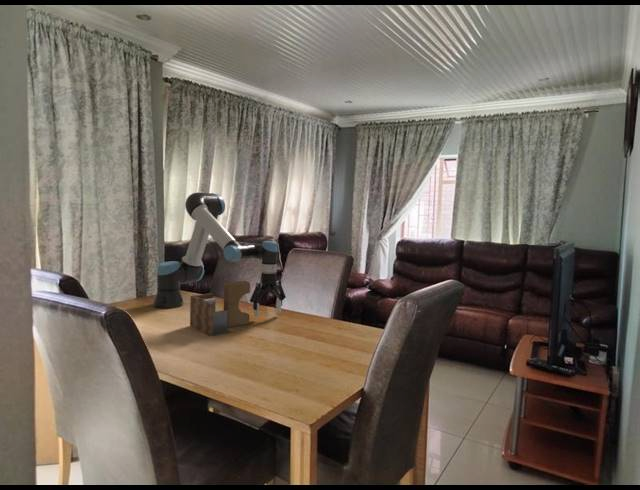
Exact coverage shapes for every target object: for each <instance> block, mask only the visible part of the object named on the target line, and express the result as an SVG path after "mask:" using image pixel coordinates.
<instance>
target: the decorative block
mask: <svg viewBox="0 0 640 490" xmlns="http://www.w3.org/2000/svg"><path fill="white" fill-rule="evenodd" d="M249 293H251V283H250V282H249V281H247V280H241V281H226V282H224V284H223V310H227V328H230V327H231V328H232V327H238V326H240V327H241V326H245V325H247V324H248V325H250V314H249V313H248V312H245V311H242V310H241V309H240V307H239V304H240V300H241V299H242V298H243V297H244V296H246V295H247V294H249Z"/></svg>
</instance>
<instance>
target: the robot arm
mask: <svg viewBox="0 0 640 490" xmlns="http://www.w3.org/2000/svg"><path fill="white" fill-rule="evenodd" d="M184 204H185V205H184V206H185V210H186V213H187V215H188V216H189V217H190V218H191V219H192V220H194V221H195V225H194V226H193V227H194V228H193V231H192V235H191V237H190V241H189V244H188V247H187V251H186V254H185V255H184V256H182V257H181V261H176V260H173V261H172V260H171V261H163V262H161V263H159V264H158V265H157V270H156V274H157V277H156V278H157V280H156V290H157V291H156V293H155V297H154V299H153V307H155V308H158V309H173V308H179V307H181V306H184V298H183V296H182V294H181V285H183V284H184V285H185V284H190V283H191V284H192V283H196V282H198V281H201V280H202V278H203V277H204V274H205V269H204V268H205V267H204V266H205V265H204V263H203V261H202V258H203V255H204V252H205V249H206V245H207V243H208V239H209V236H211V238H212V239H213V241H215V242H216V243H217V245H219V247H220V248H221V249H222V250H223V256H224V258H225V260H226V261H228V262H237V261H243V260H244V261H245V260H252V259H253V260H261V276H260V277H261V282H260V283H259V282H256V283H255V288H254V290H253V292H252V294H251V296H250V299H249V302H250V303H251V304H253V305H252V308H253V311H254V312H253V314H254V315H253V317H256V318H260V317H259V313H260V303H259V301H260V300H261V299H262V298H263V296H264V295H265V293H266V292H273V293H274V295H275V296H276V298H277V299H276V313H278V314H280V313H282V306H283V301H284V300H285V299H286V298H287V297H286V294H285V291H284V289H283V286H282V281H281V280H279V279H278V278H277V275H278V274H277V271H278V252H279V249H278V242H277V241H276V240H275V241H274V240H264V241H262V244H259V243H253V242H247V243H243V244H240V243H239V242H238V241H237V240H236V238H234V237H233V236H232V234H230V233H229V231H228V230H227V229H226V228H225V227H224V226H223V225H222V223H220V222H219V220H218V218H219V216H221V215H223V214H224V212H225V210H226V202H225V200H224V198H223V196H221V195H220V194H218V193H212V192H211V193H210V192H209V193H208V192H193V193H192V194H190V195H189V196H188V197H187V198H186V200H185V203H184ZM277 279H278V280H277Z"/></svg>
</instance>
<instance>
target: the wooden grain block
mask: <svg viewBox="0 0 640 490" xmlns="http://www.w3.org/2000/svg"><path fill="white" fill-rule="evenodd" d="M189 298H190V299H189V300H190V302H189V303H190V306H189V308H190V312H189V327H191V328H193V329H195V330H197V331H199V332H201V333H203V334H205V335H207V336H208V337H214V336H213V303H211V302H208V301H206V300H203V299H210V298H213V299H214V293H212V292H211V293H204V294H194V295H190V297H189Z"/></svg>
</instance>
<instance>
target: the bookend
mask: <svg viewBox="0 0 640 490" xmlns="http://www.w3.org/2000/svg"><path fill="white" fill-rule="evenodd" d="M228 333H232V330H230V329H228V327H227V310H224V309H223V310H218V311H216V310H215V312H213V336H212V337H214V336H218V335H223V334H228Z"/></svg>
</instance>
